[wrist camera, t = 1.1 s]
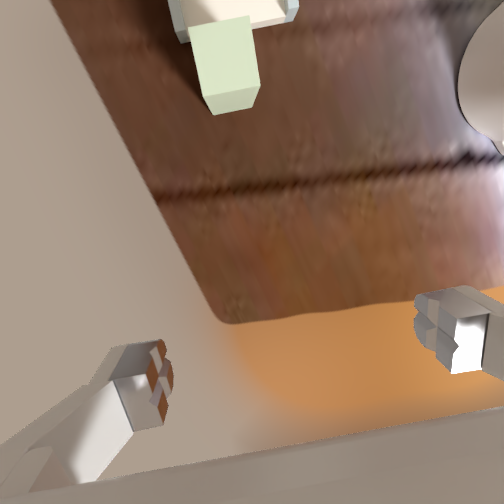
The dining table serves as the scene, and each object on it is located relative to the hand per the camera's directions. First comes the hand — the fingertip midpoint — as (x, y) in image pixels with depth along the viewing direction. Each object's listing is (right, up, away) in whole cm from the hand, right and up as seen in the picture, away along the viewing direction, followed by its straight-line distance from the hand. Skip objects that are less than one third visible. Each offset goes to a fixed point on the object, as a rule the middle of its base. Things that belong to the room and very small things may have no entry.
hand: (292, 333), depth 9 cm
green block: (-4, +21, +22) cm, 31 cm away
